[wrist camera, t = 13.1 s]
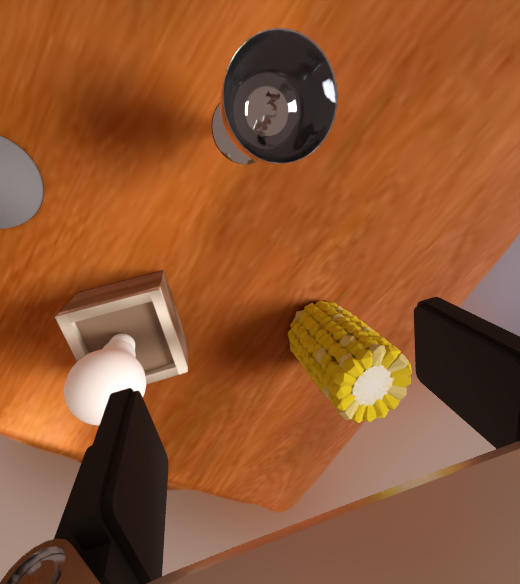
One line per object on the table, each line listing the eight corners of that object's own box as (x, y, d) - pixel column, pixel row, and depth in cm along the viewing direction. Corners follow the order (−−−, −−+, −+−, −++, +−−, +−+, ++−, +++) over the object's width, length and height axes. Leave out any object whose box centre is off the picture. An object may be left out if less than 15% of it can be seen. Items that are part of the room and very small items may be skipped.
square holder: (77, 292, 38) (54, 316, 31) (163, 270, 39) (159, 289, 32) (109, 364, 41) (95, 399, 35) (187, 342, 42) (187, 371, 36)
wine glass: (293, 139, 37) (357, 117, 23) (238, 182, 37) (268, 187, 23) (252, 70, 34) (298, -3, 20) (192, 118, 34) (197, 79, 20)
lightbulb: (106, 305, 33) (70, 363, 23) (163, 327, 35) (154, 390, 25) (82, 354, 34) (38, 430, 24) (139, 373, 36) (121, 451, 26)
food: (295, 289, 45) (352, 309, 49) (268, 369, 45) (327, 383, 49) (365, 309, 31) (439, 335, 34) (325, 426, 31) (402, 440, 35)
